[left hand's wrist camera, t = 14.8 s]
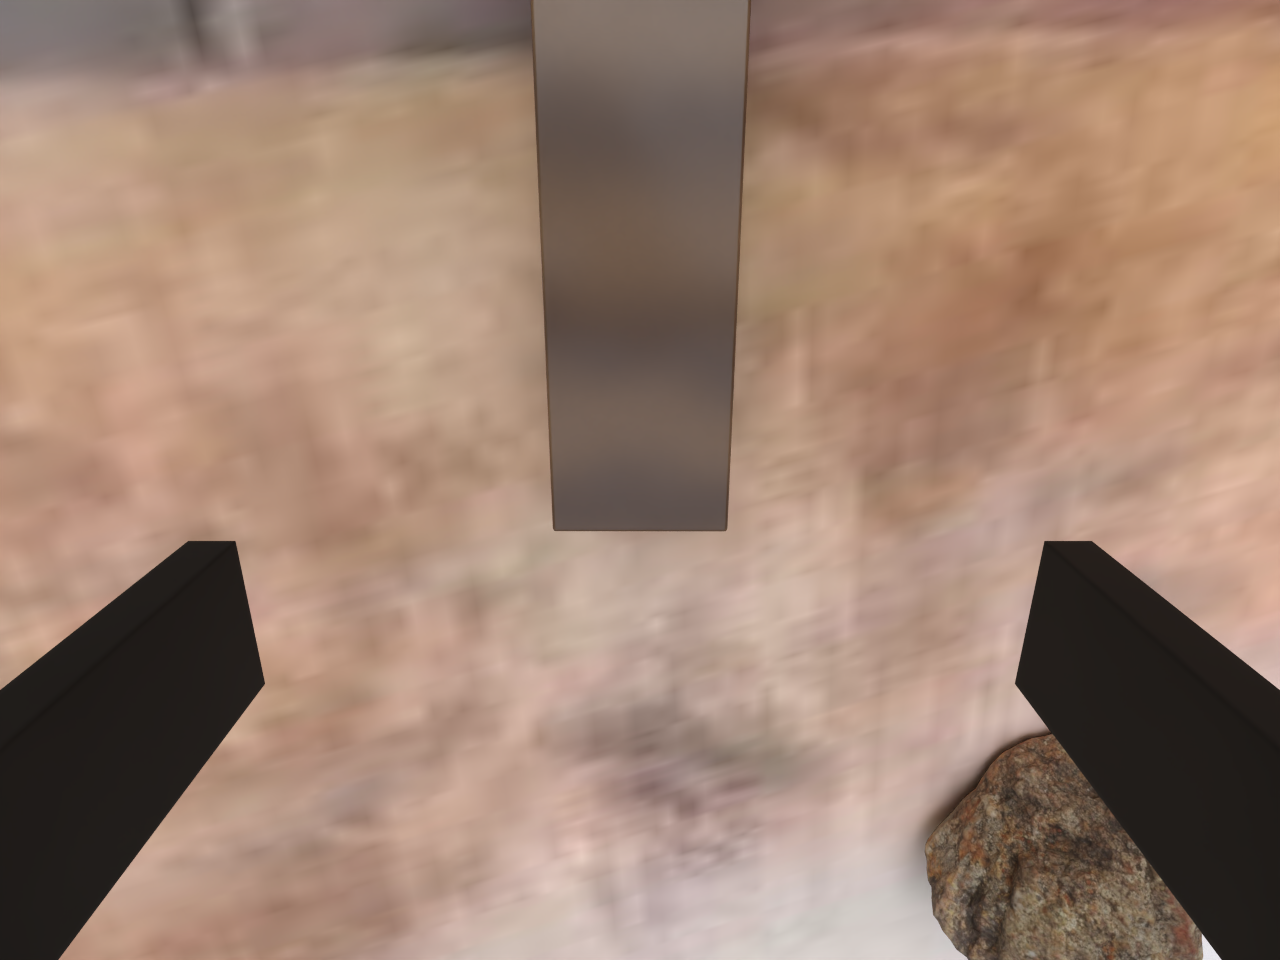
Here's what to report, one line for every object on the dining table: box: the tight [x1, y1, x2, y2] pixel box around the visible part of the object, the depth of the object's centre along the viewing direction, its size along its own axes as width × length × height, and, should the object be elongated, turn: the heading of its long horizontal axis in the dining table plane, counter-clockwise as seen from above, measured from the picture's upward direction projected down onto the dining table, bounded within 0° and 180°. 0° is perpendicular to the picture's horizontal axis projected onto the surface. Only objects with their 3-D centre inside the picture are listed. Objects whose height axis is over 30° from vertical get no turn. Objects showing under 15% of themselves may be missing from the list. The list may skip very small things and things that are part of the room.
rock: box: [925, 734, 1203, 960], centre depth 35 cm, size 14×9×10 cm
